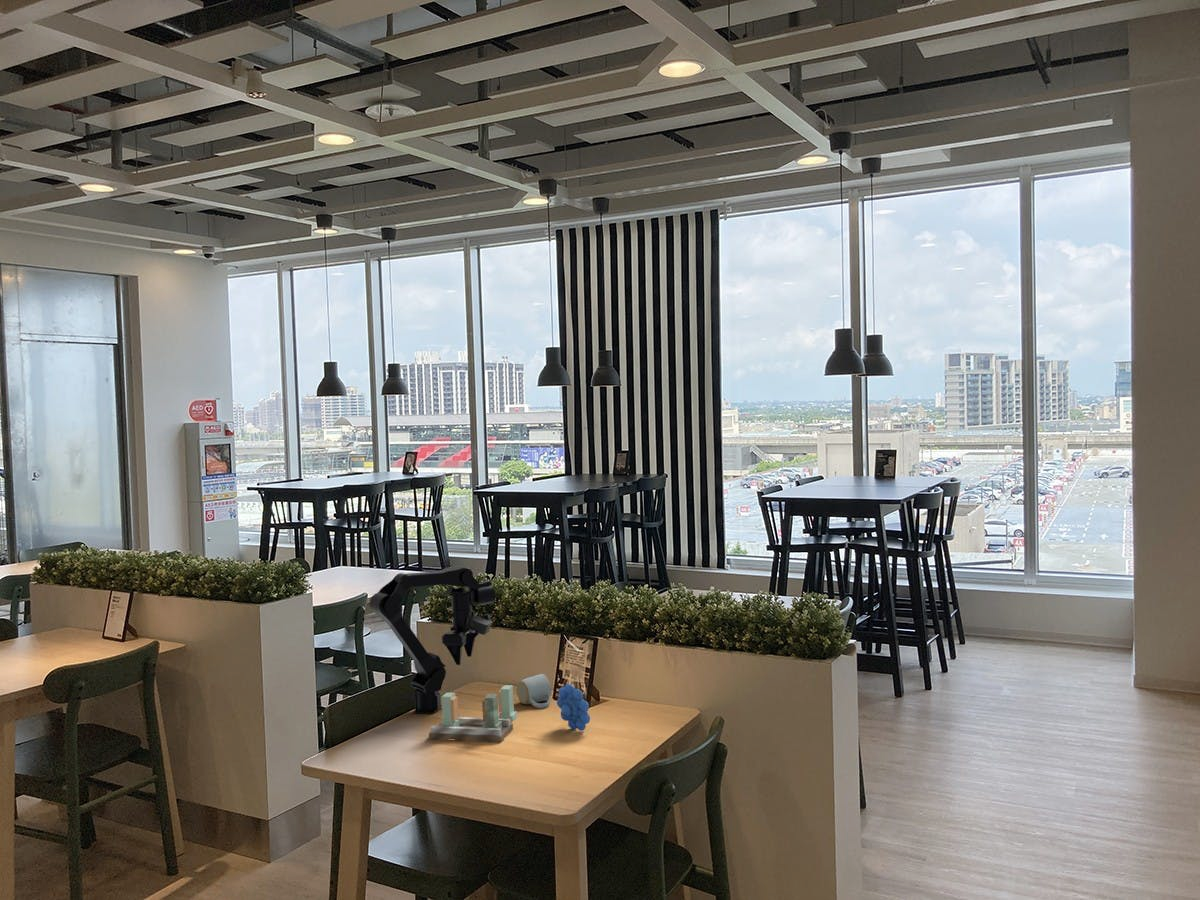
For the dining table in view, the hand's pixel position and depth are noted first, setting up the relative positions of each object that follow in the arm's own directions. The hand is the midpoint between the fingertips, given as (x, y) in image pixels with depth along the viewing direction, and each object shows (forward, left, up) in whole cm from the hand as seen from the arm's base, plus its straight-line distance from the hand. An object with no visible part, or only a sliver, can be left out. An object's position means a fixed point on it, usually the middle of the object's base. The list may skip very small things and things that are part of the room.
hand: (464, 660), depth 287 cm
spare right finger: (+18, -15, -12) cm, 26 cm away
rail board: (+12, -28, -12) cm, 33 cm away
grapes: (+38, -22, -12) cm, 46 cm away
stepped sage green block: (+6, -28, -10) cm, 30 cm away
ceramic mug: (+22, 0, -12) cm, 25 cm away
